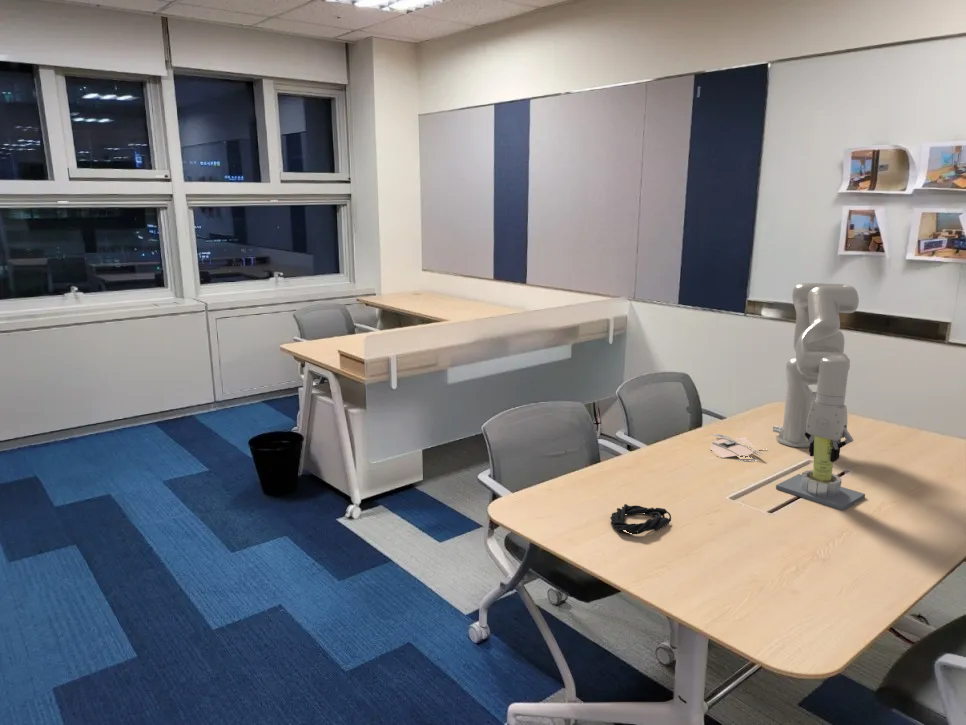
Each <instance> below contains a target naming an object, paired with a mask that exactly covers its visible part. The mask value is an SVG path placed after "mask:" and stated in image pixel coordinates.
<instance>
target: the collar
mask: <svg viewBox="0 0 966 725" xmlns="http://www.w3.org/2000/svg"><path fill="white" fill-rule="evenodd" d="M801 475H802V478H801V489H802V490H804V491H805V492H807V493H810V494H813V495H817V496H824V497H826V496H827V497H832V496H837V495H838V494H840V488H841V487H842V486H841V485H842V479H841V477H840V476H838V475H837V474H834V473H832V476H831V479H830V480H826V481H825V480H818V479H815V478H814V477H813V470H812V469H811V470H806V471H803V472H801Z"/></svg>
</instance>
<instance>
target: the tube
mask: <svg viewBox="0 0 966 725" xmlns="http://www.w3.org/2000/svg"><path fill="white" fill-rule="evenodd" d="M833 448H834V446H833V442H832V440H829V439H825V438H821V437H817V436H814V456H813V477H814V478H815V479H818V480H825V481H826V480H830V479H831V476H832V474H833V466H834V462H831V461H830V459H831V451H832V449H833Z"/></svg>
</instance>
